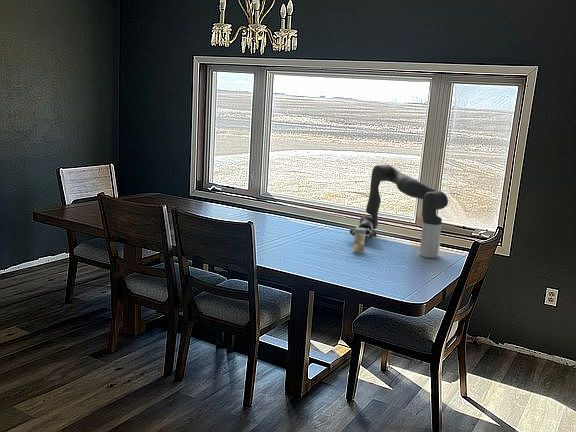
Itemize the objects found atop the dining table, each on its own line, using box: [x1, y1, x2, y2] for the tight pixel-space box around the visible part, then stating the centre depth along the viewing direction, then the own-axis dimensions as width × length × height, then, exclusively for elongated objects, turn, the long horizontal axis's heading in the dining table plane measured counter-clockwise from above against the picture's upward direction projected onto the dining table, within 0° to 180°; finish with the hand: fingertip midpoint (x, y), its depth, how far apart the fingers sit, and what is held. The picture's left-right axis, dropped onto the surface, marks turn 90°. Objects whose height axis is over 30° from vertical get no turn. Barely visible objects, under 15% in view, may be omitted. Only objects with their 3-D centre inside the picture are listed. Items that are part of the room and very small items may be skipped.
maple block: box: [352, 226, 366, 254], centre depth 300 cm, size 5×5×12 cm
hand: (361, 235), depth 310 cm, fingers open, 8 cm apart
